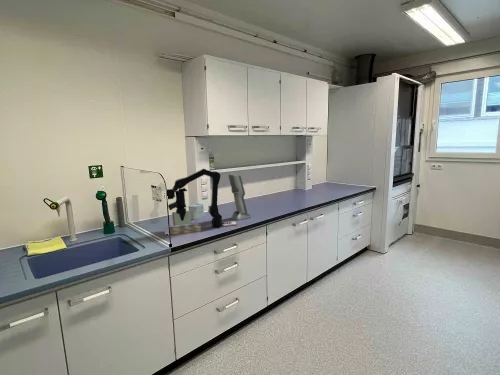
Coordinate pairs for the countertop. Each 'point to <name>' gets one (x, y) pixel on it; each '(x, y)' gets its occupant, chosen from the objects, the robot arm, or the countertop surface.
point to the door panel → (178, 219)
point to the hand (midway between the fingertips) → (182, 220)
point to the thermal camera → (238, 197)
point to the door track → (185, 228)
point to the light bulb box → (196, 211)
